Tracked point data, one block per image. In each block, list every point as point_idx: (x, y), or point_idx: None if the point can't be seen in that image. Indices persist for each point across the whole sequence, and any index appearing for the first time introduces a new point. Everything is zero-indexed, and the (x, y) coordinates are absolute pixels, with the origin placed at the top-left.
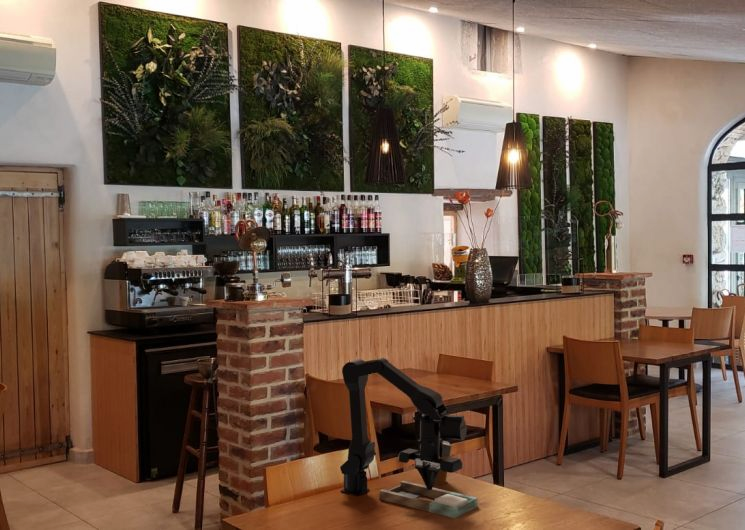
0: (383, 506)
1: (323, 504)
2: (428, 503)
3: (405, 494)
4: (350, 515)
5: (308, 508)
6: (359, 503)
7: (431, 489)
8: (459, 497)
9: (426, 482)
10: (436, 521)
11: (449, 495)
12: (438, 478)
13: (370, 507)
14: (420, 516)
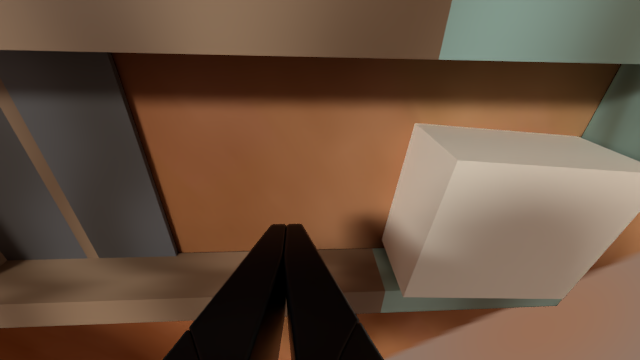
0: (143, 325)
1: None
2: (373, 309)
3: (17, 137)
4: None
5: None
6: (35, 351)
7: (302, 228)
8: (591, 178)
9: (277, 354)
10: (445, 320)
11: (489, 187)
12: None
13: (118, 354)
14: (360, 318)
